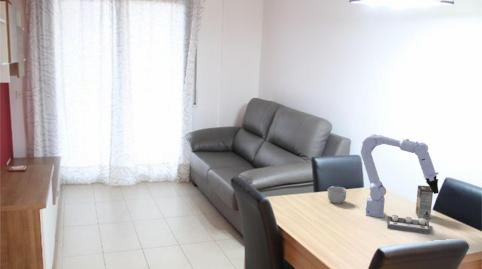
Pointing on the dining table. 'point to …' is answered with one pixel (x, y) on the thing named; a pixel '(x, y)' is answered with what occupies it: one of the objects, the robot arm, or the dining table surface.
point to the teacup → (336, 194)
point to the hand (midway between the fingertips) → (435, 191)
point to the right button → (422, 221)
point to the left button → (394, 218)
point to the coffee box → (424, 202)
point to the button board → (408, 225)
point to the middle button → (408, 220)
